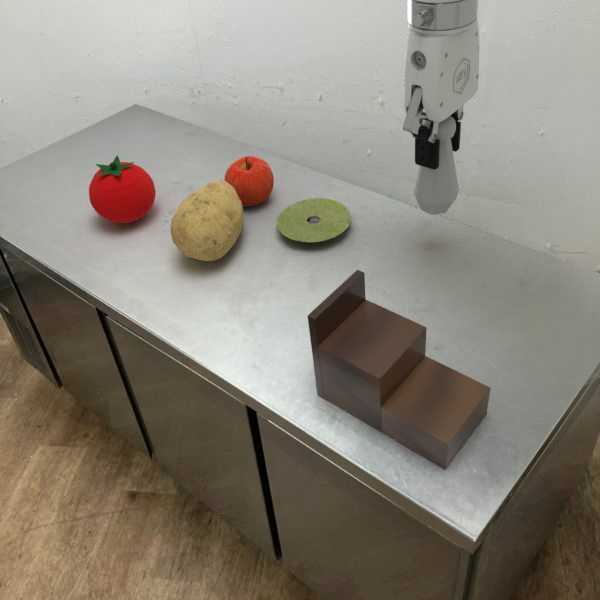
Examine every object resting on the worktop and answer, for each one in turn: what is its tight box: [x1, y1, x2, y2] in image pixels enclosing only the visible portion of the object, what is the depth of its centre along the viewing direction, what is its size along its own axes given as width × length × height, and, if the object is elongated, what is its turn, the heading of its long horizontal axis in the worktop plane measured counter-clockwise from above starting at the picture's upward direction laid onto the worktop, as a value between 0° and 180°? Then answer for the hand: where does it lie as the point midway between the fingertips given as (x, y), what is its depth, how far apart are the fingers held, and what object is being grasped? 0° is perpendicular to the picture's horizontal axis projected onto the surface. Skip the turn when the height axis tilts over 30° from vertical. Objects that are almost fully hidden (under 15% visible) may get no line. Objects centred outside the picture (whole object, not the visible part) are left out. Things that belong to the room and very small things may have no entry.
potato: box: [170, 179, 245, 262], centre depth 95 cm, size 10×14×10 cm
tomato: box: [88, 154, 156, 224], centre depth 104 cm, size 10×10×10 cm
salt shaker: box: [413, 116, 460, 216], centre depth 84 cm, size 6×6×13 cm
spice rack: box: [307, 269, 492, 470], centre depth 69 cm, size 17×9×13 cm, turn 50°
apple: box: [223, 155, 275, 207], centre depth 104 cm, size 8×8×8 cm
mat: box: [276, 197, 352, 243], centre depth 99 cm, size 11×11×2 cm
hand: (437, 155), depth 83 cm, fingers closed on salt shaker, 4 cm apart
